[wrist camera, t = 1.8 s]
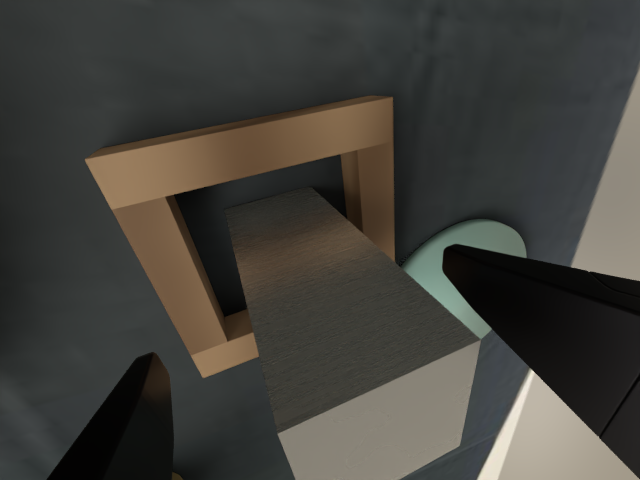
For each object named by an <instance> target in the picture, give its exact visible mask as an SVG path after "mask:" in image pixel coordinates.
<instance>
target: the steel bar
mask: <svg viewBox="0 0 640 480" xmlns="http://www.w3.org/2000/svg"><path fill="white" fill-rule="evenodd" d="M224 211H225V216H226V220H227V224H228V228H229V232H230V237H231V241H232V245H233V249H234V253H235V257H236V262H237V266H238V270H239V274H240V278H241V283H242V287H243V291H244V295H245V299H246V303H247V308H248V312H249V316H250V320H251V324H252V329H253V333H254V337H255V341H256V345H257V349H258V354H259V358H260V362H261V366H262V370H263V375H264V379H265V383H266V387H267V391H268V396H269V400H270V404H271V408H272V412H273V416H274V421H275V425H276V429H277V433H278V436H279V439H280V441H281V444H282V446H283V449H284V451H285V454H286V456H287V459H288V461H289V464H290V466H291V469H292V471H293V474H294V476H295V479H296V480H399V479H401V478H403V477H404V476H406V475H408V474H410V473H412V472H413V471H415V470H417V469H419V468H421V467H422V466H424V465H426V464H428V463H430V462H431V461H433V460H435V459H437V458H438V457H440V456H442V455H444V454H446V453H447V452H449V451H451V450H453V449H455V448H456V447H458V446H460V441H461V436H462V432H463V427H464V422H465V417H466V412H467V407H468V402H469V397H470V392H471V387H472V382H473V377H474V372H475V368H476V363H477V358H478V353H479V348H480V343H481V339H480V338H479V337H478V336H477V335H475V334H474V333H473V332H472V331H471V330H470V329H469V328H468V327H467V326H465V325H464V324H463V323H462V322H461V321H460V320H459V319H458V318H456V317H455V316H454V315H453V314H452V313H451V312H450V311H449V310H448V309H446V308H445V307H444V306H443V305H442V304H441V303H440V302H439V301H438V300H436V299H435V298H434V297H433V296H432V295H431V294H430V293H429V292H427V291H426V290H425V289H424V288H423V287H422V286H421V285H420V284H419V283H417V282H416V281H415V280H414V279H413V278H412V277H411V276H410V275H409V274H407V273H406V272H405V271H404V270H403V269H402V268H401V267H400V266H398V265H397V264H396V263H395V262H394V261H393V260H392V259H391V258H390V257H388V256H387V255H386V254H385V253H384V252H383V251H382V250H381V249H380V248H378V247H377V246H376V245H375V244H374V243H373V242H372V241H371V240H369V239H368V238H367V237H366V236H365V235H364V234H363V233H362V232H361V231H359V230H358V229H357V228H356V227H355V226H354V225H353V224H352V223H351V222H349V221H348V220H347V219H346V218H345V217H344V216H343V215H342V214H340V213H339V212H338V211H337V210H336V209H335V208H334V207H333V206H332V205H330V204H329V203H328V202H327V201H326V200H325V199H324V198H323V197H322V196H320V195H319V194H318V193H317V192H316V191H315V190H314V189H313V188H311V187H310V186H309V187H305V188H302V189H298V190H294V191H290V192H287V193H283V194H279V195H275V196H271V197H268V198H264V199H260V200H256V201H253V202H249V203H245V204H241V205H237V206H234V207H230V208H226V209H224Z"/></svg>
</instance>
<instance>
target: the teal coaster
mask: <svg viewBox="0 0 640 480" xmlns="http://www.w3.org/2000/svg"><path fill="white" fill-rule="evenodd" d="M453 244H461V245H466V246H471V247H475V248H480V249H485V250H490V251H495V252H499V253H504V254H509V255H514V256H519V257H523V258H527V257H526V248H525V244H524V242H523V240H522V238H521V236H520V235H519V234H518V233H517V232H516V231H515V230H514V229H512V228H511V227H509V226H506V225H504V224H502V223H500V222H498V221H495V220H490V219H474V220H468V221H464V222H461V223H458V224H455V225H453V226H451V227H448V228H446V229H445V230H443V231H441V232H439V233H437V234H436V235H434V236H433V237H432V238H430V239H429V240H427V241H426V242H425V243H424V244H422V245H421V246H420V247H419V248H417V249H416V250H415V251H414V252H413V253H412V254H411V255H410V256H409V257H408V258H407V260H406V261H405V262H404V263H403V264H402V265H401V268H402V269H403V270H404V271H405V272H406V273H407V274H409V275H410V276H411V277H412V278H413V279H414V280H415V281H416V282H417V283H419V284H420V285H421V286H422V287H423V288H424V289H425V290H426V291H427V292H429V293H430V294H431V295H432V296H433V297H434V298H435V299H436V300H438V301H439V302H440V303H441V304H442V305H443V306H444V307H445V308H446V309H448V310H449V311H450V312H451V313H452V314H453V315H454V316H455V317H456V318H458V319H459V320H460V321H461V322H462V323H463V324H464V325H465V326H467V327H468V328H469V329H470V330H471V331H472V332H473V333H474V334H475V335H477V336H478V337H479V338H480V339H482V338H483V337H484V336H485V335H486V334H487V333H488V332H489V331H490V330H491V329H492V328H491V327H490V326H489V325H488V324H487V323H486V322H485V321H484V320H483V319H482V318H481V317H480V316H479V315H478V314H477V313H476V312H475V311H474V310H473V309H472V308H471V307H470V305H469V304H468V303H467V302H466V301H465V299H464V298H463V297H462V296H461V294H460V293H459V292H458V291H457V289H456V288H455V287H454V286H453V284H452V283H451V282H450V281H449V280H448V278H447V277H446V276H445V274H444V273H443V270H442V261H443V251H444V249H445V248H446V247H447V246H450V245H453Z"/></svg>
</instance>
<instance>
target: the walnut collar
mask: <svg viewBox="0 0 640 480" xmlns="http://www.w3.org/2000/svg"><path fill="white" fill-rule="evenodd" d="M338 154H341V164H342V174H343V183H344V193H345V203H346V213H347V220H348V221H349V222H351V223H352V224H353V225H354V226H355V227H356V228H357V229H358V230H359V231H361V232H362V233H363V234H364V235H365V236H366V237H367V238H368V239H369V240H371V241H372V242H373V243H374V244H375V245H376V246H377V247H378V248H380V249H381V250H382V251H383V252H384V253H385V254H386V255H387V256H388V257H390V258H391V259H392V260H393V261H394V262H395V243H394V152H393V97H386V96H373V95H369V96H364V97H359V98H354V99H349V100H344V101H339V102H334V103H329V104H324V105H319V106H314V107H309V108H303V109H298V110H293V111H288V112H283V113H278V114H273V115H268V116H263V117H258V118H253V119H248V120H243V121H238V122H232V123H227V124H222V125H217V126H212V127H207V128H202V129H197V130H192V131H187V132H182V133H177V134H172V135H166V136H161V137H156V138H151V139H146V140H141V141H136V142H131V143H126V144H121V145H116V146H111V147H106V148H101V149H99V150H97V151H96V152H94V153H93V154H92V155H90V156H89V157H87V158H86V159H85V161H86V163H87V165H88V167H89V169H90V171H91V172H92V174H93V176H94V178H95V180H96V182H97V184H98V185H99V187H100V189H101V191H102V193H103V195H104V196H105V198H106V200H107V202H108V204H109V206H110V207H111V209H112V211H113V213H114V215H115V217H116V219H117V220H118V222H119V224H120V226H121V228H122V230H123V231H124V233H125V235H126V237H127V239H128V241H129V242H130V244H131V246H132V248H133V250H134V252H135V254H136V255H137V257H138V259H139V261H140V263H141V265H142V266H143V268H144V270H145V272H146V274H147V276H148V277H149V279H150V281H151V283H152V285H153V287H154V289H155V290H156V292H157V294H158V296H159V298H160V300H161V301H162V303H163V305H164V307H165V309H166V311H167V312H168V314H169V316H170V318H171V320H172V322H173V324H174V325H175V327H176V329H177V331H178V333H179V335H180V336H181V338H182V340H183V342H184V344H185V346H186V347H187V349H188V351H189V353H190V355H191V357H192V359H193V360H194V362H195V364H196V366H197V368H198V370H199V371H200V373H201V375H202V377H203V378H205V377H208V376H210V375H213V374H215V373H218V372H220V371H223V370H225V369H228V368H230V367H233V366H236V365H238V364H241V363H243V362H246V361H248V360H251V359H253V358H256V357H259V354H258V349H257V345H256V341H255V337H254V333H253V329H252V324H251V320H250V316H249V312H248V309H246V310H243V311H240V312H238V313H235V314H232V315H229V316H226V317H224V315H223V312H222V310H221V308H220V305H219V303H218V300H217V298H216V296H215V293H214V291H213V288H212V286H211V283H210V281H209V279H208V276H207V274H206V271H205V269H204V267H203V264H202V262H201V259H200V257H199V255H198V252H197V250H196V247H195V245H194V242H193V240H192V238H191V235H190V233H189V230H188V228H187V226H186V223H185V221H184V218H183V216H182V213H181V211H180V209H179V206H178V204H177V201H176V199H175V197H174V194H178V193H182V192H186V191H190V190H194V189H198V188H203V187H207V186H211V185H215V184H219V183H223V182H227V181H231V180H235V179H240V178H244V177H248V176H252V175H256V174H260V173H264V172H268V171H272V170H277V169H281V168H285V167H289V166H293V165H297V164H301V163H305V162H309V161H314V160H318V159H322V158H326V157H330V156H334V155H338Z"/></svg>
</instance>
